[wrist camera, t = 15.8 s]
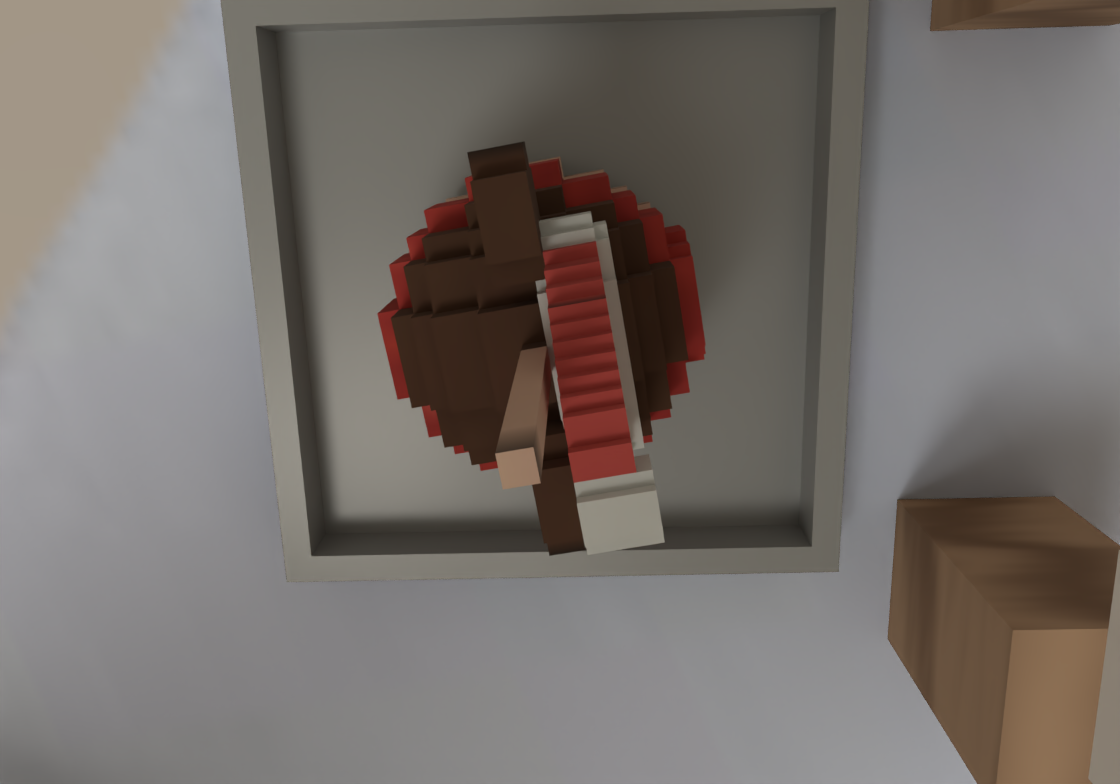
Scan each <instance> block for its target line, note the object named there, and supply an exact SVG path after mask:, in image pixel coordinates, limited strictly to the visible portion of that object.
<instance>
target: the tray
mask: <svg viewBox="0 0 1120 784" xmlns="http://www.w3.org/2000/svg"><path fill="white" fill-rule="evenodd" d="M221 8H222V17H223V25H224V34H225V43H226V52H227V61H228V69H229V78H230V87H231V96H232V105H233V113H234V122H235V131H236V140H237V149H238V157H239V166H240V175H241V184H242V193H243V201H244V210H245V219H246V228H247V237H248V245H249V254H250V263H251V272H252V280H253V289H254V298H255V307H256V316H257V324H258V333H259V342H260V351H261V360H262V368H263V377H264V386H265V395H266V404H267V412H268V421H269V430H270V439H271V448H272V456H273V465H274V474H275V483H276V492H277V500H278V509H279V518H280V527H281V536H282V544H283V553H284V562H285V571H286V580H287V582H319V581H373V580H427V579H480V578H534V577H588V576H641V575H695V574H748V573H802V572H839V555H840V536H841V518H842V499H843V480H844V462H845V443H846V424H847V406H848V387H849V368H850V350H851V331H852V312H853V294H854V275H855V257H856V238H857V219H858V201H859V182H860V163H861V145H862V126H863V107H864V89H865V70H866V51H867V33H868V14H869V0H221ZM524 141H525V146H526V151H527V157H528V162H533V161H539V160H544V159H549V158H554V157H560V158H561V163H562V169H563V174H564V176H569V175H574V174H579V173H585V172H590V171H595V170H601V169H603V170H604V172H606V173H607V175H608V177H609V183H610V188H614V187H620V186H625V185H626V186H627V190H631V191H632V192H633V193H634V194H635V195H636V201H637V204H638V203H643V202H650V206H651V208H654V207H655V208H656V209H657V210H658V211H659V212H661V213H662V214H663V221H664V227H669V226H675V225H680V226H681V227H683V228H684V229H685V231H686V238H687V242H689V243H690V250H691V255H692V256H693V262H694V269H695V276H696V282H697V289H698V296H699V303H700V310H701V316H702V323H703V330H704V337H705V343H706V346H705V351H706V354H704V359H705V360H699V361H693V362H687V363H686V370H687V376H688V383H689V389H690V393H684V394H678V395H672V396H670V397H671V403H672V409H670V412H671V417H670V418H664V419H658V420H653V421H651V426H652V432H653V435H652V440H653V442H649V443H644V448H641V449H635V450H633V454H634V457H635V456H641V455H647V454H649V457H650V461H651V466H652V470H653V476H654V482H655V487H656V492H657V498H658V504H659V509H660V515H661V521H662V527H663V533H664V541H665V542H664V543H658V544H652V545H646V546H640V547H633V548H627V549H621V550H615V551H609V552H603V553H597V554H591V555H588V554H587V550H583V551H577V552H571V553H565V554H558V555H552V556H549V551H548V546H547V543H545V544H544V541H543V536H542V531H541V527H540V522H539V517H538V512H537V507H536V502H535V497H534V492H533V487H532V485H527V486H521V487H515V488H510V489H504V490H503V488H502V483H501V479H500V474H499V469H498V468H496V469H490V470H484V471H481V470H480V465H479V464H477V465H471V460H470V456H469V452H466V453H460V454H455V453H454V448H453V447H447V448H444V444H443V439H442V435H441V436H435V437H429V436H428V432H427V427H426V423H425V419H424V414H423V410H422V407H417V408H412V407H411V403H410V398H405V399H399V400H398V399H397V395H396V391H395V387H394V382H393V378H392V374H391V370H390V366H389V361H388V357H387V353H386V349H385V345H384V340H383V336H382V332H381V328H380V324H379V319H378V315H377V313H378V312H380V311H381V310H382V309H383V308H384V307H385V306H386V305H387V304H388V303H389V302H391V301H392V300H393V299H394V298H396V294H395V289H394V285H393V281H392V276H391V272H390V268H389V264H391V263H392V262H394V261H395V260H397V259H398V258H399V257H401V256H402V255H404V254H406V253H409V248H408V244H407V240H406V238H407V237H408V236H410V235H412V234H413V233H415V232H417V231H418V230H420V229H423V228H427V223H426V219H425V214H424V210H425V209H427V208H430V207H432V206H434V205H436V204H439V203H444V202H446V199H448V198H452V197H458V196H463V195H468V193H467V188H466V183H465V178H466V177H469V176H471V175H472V174H471V169H470V164H469V159H468V154H467V152H471V151H476V150H482V149H487V148H492V147H497V146H503V145H508V144H513V143H518V142H524Z"/></svg>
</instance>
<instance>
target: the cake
mask: <svg viewBox="0 0 1120 784" xmlns="http://www.w3.org/2000/svg"><path fill="white" fill-rule="evenodd" d="M467 154H468V159H469V164H470V169H471V174H472V175H471V176H469V177H466V178H465V183H466V188H467V193H468V195H463V196H458V197H452V198H448V199H446V202H444V203H439V204H436V205H434V206H432V207H430V208H427V209H425V210H424V214H425V219H426V223H427V228H423V229H420V230H418V231H417V232H415V233H413V234H412V235H410V236H408V237H407V238H406V240H407V244H408V248H409V253H406V254H404V255H402V256H401V257H399V258H398V259H397V260H395V261H394V262H392V263H391V264H389V268H390V272H391V276H392V281H393V285H394V289H395V294H396V298H394V299H393V300H392V301H391V302H389V303H388V304H387V305H386V306H385V307H384V308H383V309H382V310H381V311H380V312H378V313H377V315H378V319H379V324H380V328H381V332H382V336H383V340H384V345H385V349H386V353H387V357H388V361H389V366H390V370H391V374H392V378H393V382H394V387H395V391H396V395H397V399H398V400H399V399H405V398H410V403H411V407H412V408H417V407H422V410H423V414H424V419H425V423H426V427H427V432H428V436H429V437H435V436H441V435H442V439H443V444H444V448H447V447H453V448H454V453H455V454H460V453H466V452H469V456H470V460H471V465H477V464H479V465H480V470H481V471H484V470H490V469H496V468H498V469H499V474H500V479H501V483H502V488H503V490H504V489H510V488H515V487H521V486H527V485H532V487H533V492H534V497H535V502H536V507H537V512H538V517H539V522H540V527H541V531H542V536H543V541H544V544H545V543H547V546H548V551H549V556H552V555H558V554H565V553H571V552H577V551H583V550H587V554H588V555H591V554H597V553H603V552H609V551H615V550H621V549H627V548H633V547H640V546H646V545H652V544H658V543H664V542H665V541H664V533H663V527H662V521H661V515H660V509H659V504H658V498H657V492H656V487H655V482H654V476H653V470H652V466H651V461H650V457H649V454H647V455H641V456H635V457H634V454H633V450H635V449H641V448H644V443H649V442H653V440H652V435H653V432H652V426H651V421H653V420H658V419H664V418H670V417H671V412H670V409H672V403H671V397H670V396H672V395H678V394H684V393H690V389H689V383H688V376H687V370H686V363H687V362H693V361H699V360H705V359H704V354H706V351H705V346H706V343H705V337H704V330H703V323H702V316H701V310H700V303H699V296H698V289H697V282H696V276H695V269H694V262H693V256H692V255H691V250H690V243H689V242H687V238H686V231H685V229H684V228H683V227H681V226H680V225H675V226H669V227H664V221H663V214H662V213H661V212H659V211H658V210H657V209H656V208H655V207H654V208H651V206H650V202H643V203H638V204H637V201H636V195H635V194H634V193H633V192H632V191H631V190H627V186H626V185H625V186H620V187H614V188H610V183H609V177H608V175H607V173H606V172H604V170H603V169H601V170H595V171H590V172H585V173H579V174H574V175H569V176H564V174H563V169H562V163H561V158H560V157H554V158H549V159H544V160H539V161H533V162H528V157H527V151H526V146H525V141H524V142H518V143H513V144H508V145H503V146H497V147H492V148H487V149H482V150H476V151H471V152H467Z"/></svg>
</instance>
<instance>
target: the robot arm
mask: <svg viewBox="0 0 1120 784" xmlns="http://www.w3.org/2000/svg"><path fill="white" fill-rule="evenodd" d="M1088 779H1089V780H1090V781H1091V782H1092V784H1120V550H1119V553H1118V560H1117V568H1116V575H1115V583H1114V590H1113V598H1112V605H1111V613H1110V620H1109V628H1108V635H1107V643H1106V650H1105V657H1104V665H1103V672H1102V680H1101V687H1100V695H1099V702H1098V710H1097V717H1096V725H1095V732H1094V739H1093V747H1092V754H1091V762H1090V769H1089V777H1088Z"/></svg>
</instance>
